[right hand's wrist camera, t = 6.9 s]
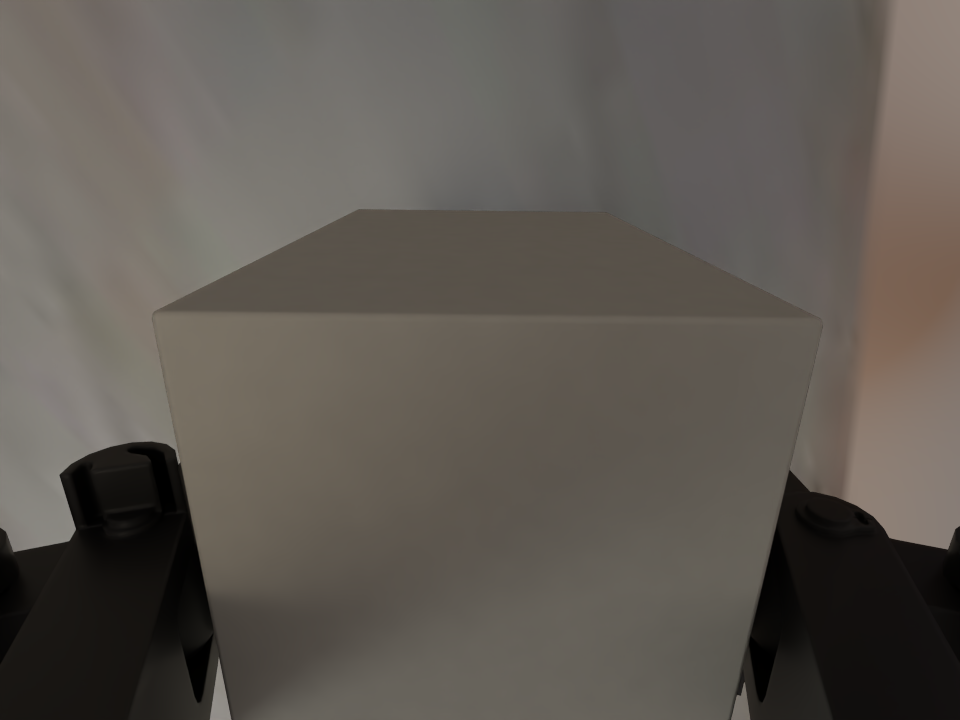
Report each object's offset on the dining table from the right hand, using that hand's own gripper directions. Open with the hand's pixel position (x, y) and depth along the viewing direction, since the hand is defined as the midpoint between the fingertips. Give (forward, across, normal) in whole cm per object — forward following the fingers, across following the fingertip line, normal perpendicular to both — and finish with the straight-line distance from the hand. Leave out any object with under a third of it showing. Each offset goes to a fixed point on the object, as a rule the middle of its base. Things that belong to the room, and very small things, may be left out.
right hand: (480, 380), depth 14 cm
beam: (0, 0, -23) cm, 23 cm away
